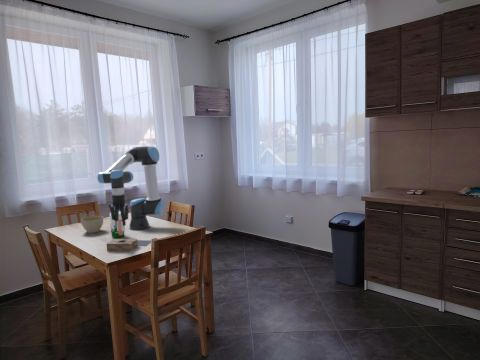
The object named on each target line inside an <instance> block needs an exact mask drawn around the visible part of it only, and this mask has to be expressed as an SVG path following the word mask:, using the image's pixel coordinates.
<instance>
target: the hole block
mask: <svg viewBox="0 0 480 360" xmlns="http://www.w3.org/2000/svg"><path fill="white" fill-rule="evenodd" d="M137 240H138V239H136V238H135V239H134V238H117V239H114V238H113V239H112V240H110V241H108V242H107V243H106V250H107V251H106V252H132V251H134V249H136V248H137V247H139V246H138V242H137Z"/></svg>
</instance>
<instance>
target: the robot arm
mask: <svg viewBox="0 0 480 360" xmlns="http://www.w3.org/2000/svg"><path fill="white" fill-rule="evenodd" d="M159 161H160V152H159V149H158V148H157V147H155V146H150V145H148V146H136V147H135V146H134V147H132V148H130V149H128V150H126V151H125V152H124V153H122V155H121V157H120V158H118V160H117V161H116V162H115V163H113V164H112V165H111V166H110V167H108V169H107V170H105V171H101V172H99V173H97V177H96V178H97V181H98V183H99V184H105V185H106V184H110V185H111V199H112V203H111V204H109V205H108V207H109V211H110V213H111V216H112V220H115V224H116V226H117V231H119V230H118V218H119V211H120V212H121V217H122V220H121V228H122V231H124V232H125V231H126V228H125V227H126V224H127V223H126V222H127V220H129V208H130V223H129V230H132V231H138V230H139V231H140V230H144V229H147V228H149V227H150V223H149V221H148V218H147V216H159V215H162V213H163V212H164V209H165V201H164V199H162V198H161V196H160V195H159V187H158V179H157V177H158V176H157V169H156V166H157V164H158V162H159ZM133 163H141V166H143V170H144V178H145V187H146V195H147V197H146V198H145V197H141V198H136V199H131V201H130V202H129V204H128V203H126V196H125V195H126V194H125V184H129V183H130V182H133V180H134V174H133V173H132V171H125V169H126V168H128V167H129V165H132V164H133ZM114 209H115V211H114Z"/></svg>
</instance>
